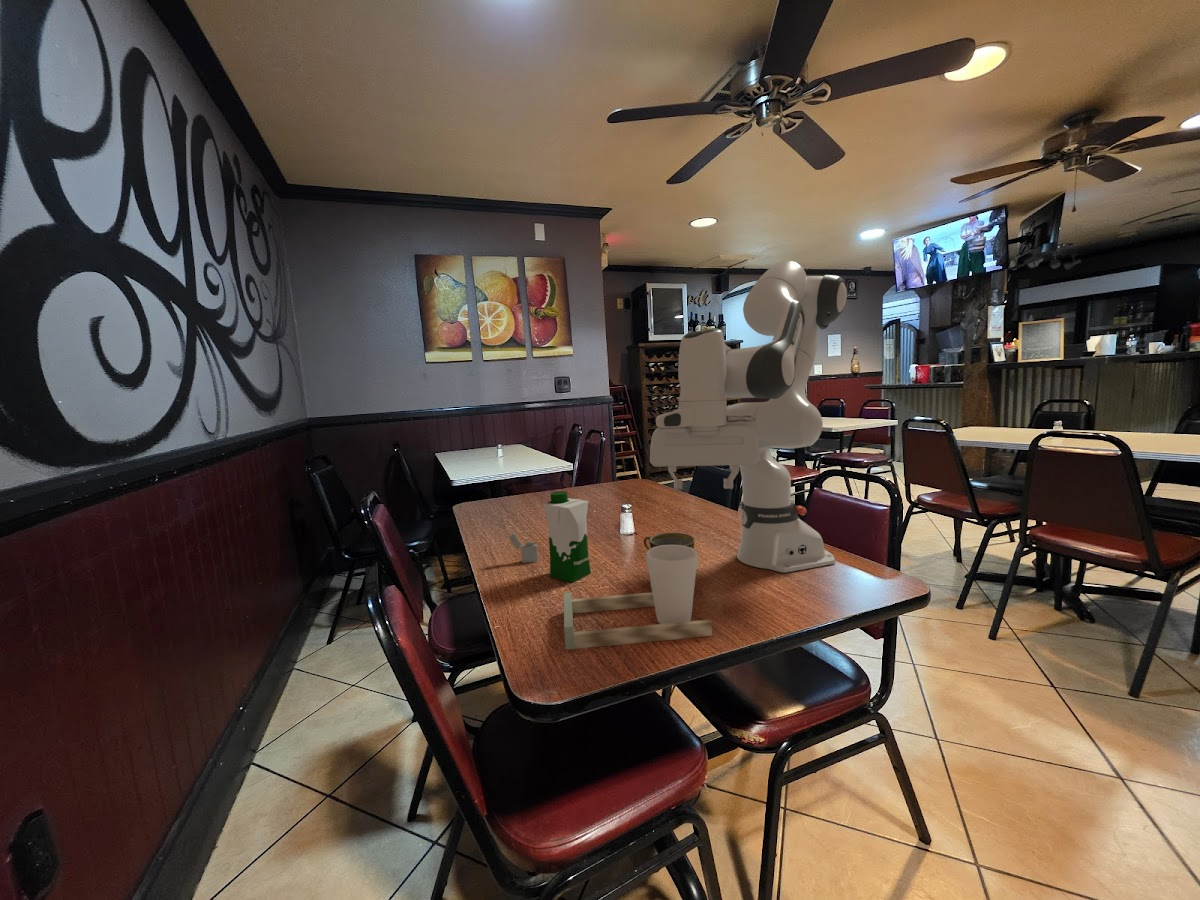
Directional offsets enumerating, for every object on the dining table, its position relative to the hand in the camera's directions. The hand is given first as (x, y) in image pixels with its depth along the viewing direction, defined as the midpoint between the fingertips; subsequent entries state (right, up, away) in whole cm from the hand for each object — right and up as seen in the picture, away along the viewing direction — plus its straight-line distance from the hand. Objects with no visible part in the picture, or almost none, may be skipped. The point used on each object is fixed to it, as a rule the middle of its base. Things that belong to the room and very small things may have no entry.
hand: (703, 488), depth 88 cm
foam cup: (-6, -25, -1) cm, 25 cm away
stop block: (-26, -26, -3) cm, 36 cm away
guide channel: (-13, -25, -2) cm, 28 cm away
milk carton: (-27, -23, +23) cm, 42 cm away
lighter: (-40, -22, +34) cm, 57 cm away
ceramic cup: (-4, -23, +17) cm, 28 cm away
